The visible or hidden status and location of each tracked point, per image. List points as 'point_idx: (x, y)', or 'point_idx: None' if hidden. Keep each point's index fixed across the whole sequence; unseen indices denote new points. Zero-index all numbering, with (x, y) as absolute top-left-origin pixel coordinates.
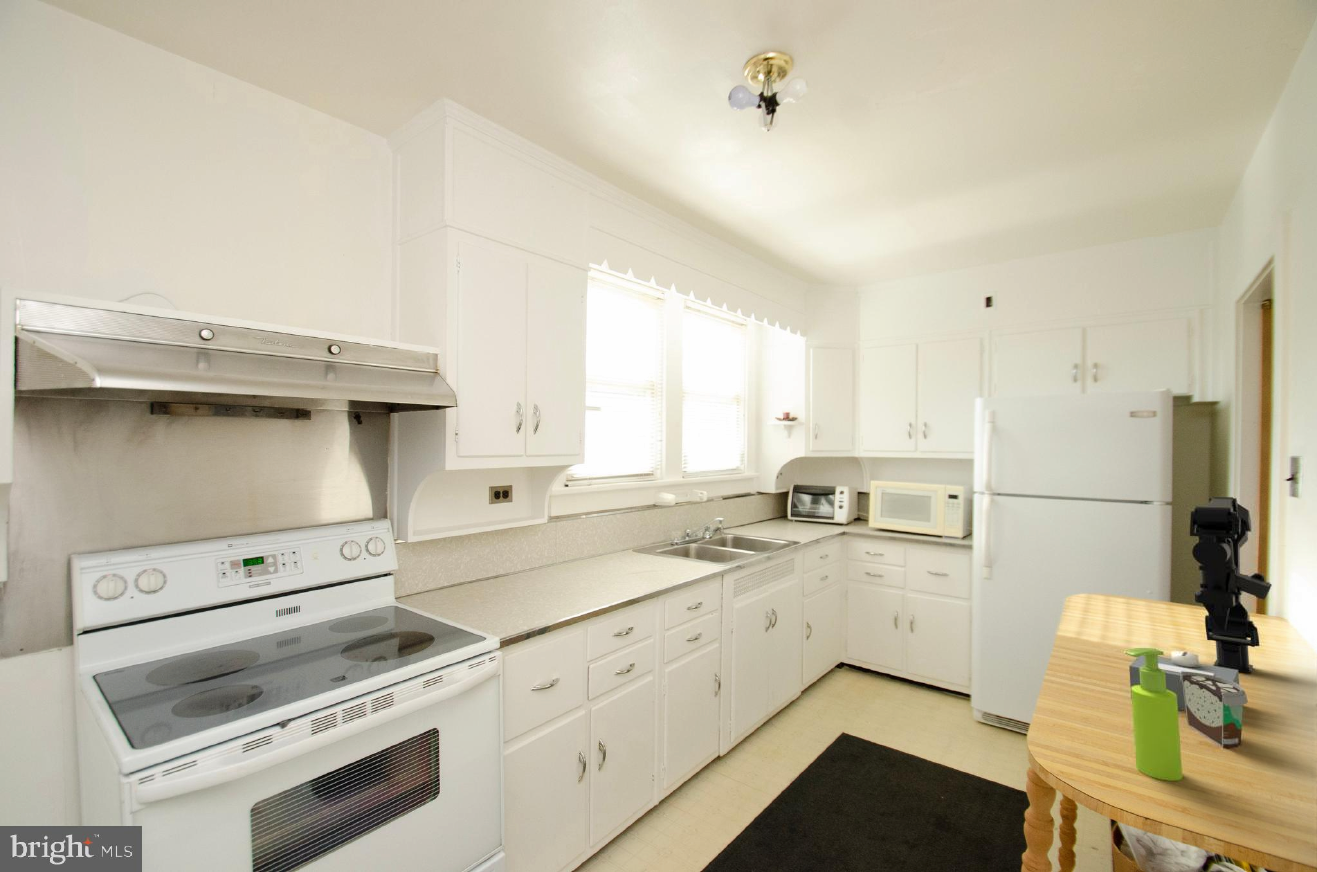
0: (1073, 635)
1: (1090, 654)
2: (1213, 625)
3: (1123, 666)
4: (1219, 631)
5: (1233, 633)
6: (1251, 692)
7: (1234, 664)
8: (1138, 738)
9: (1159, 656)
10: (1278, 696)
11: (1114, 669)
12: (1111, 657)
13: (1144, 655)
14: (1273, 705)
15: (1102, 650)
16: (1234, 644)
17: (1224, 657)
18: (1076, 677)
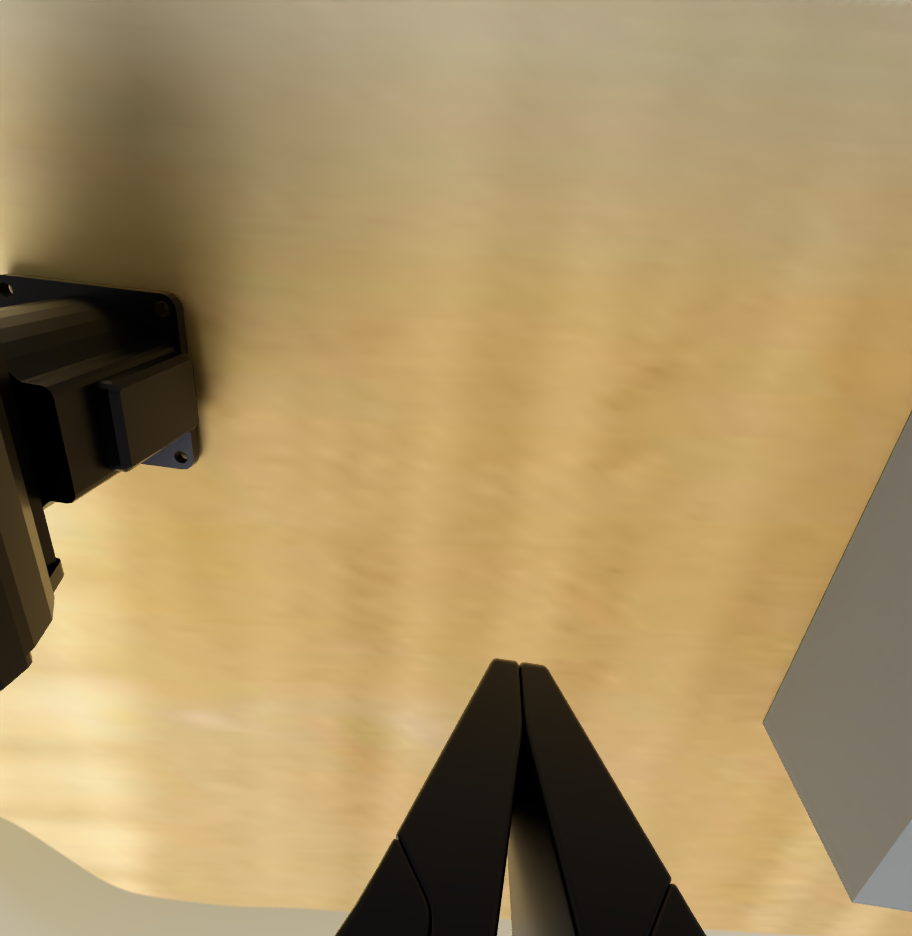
0: (120, 885)
1: (381, 851)
2: (12, 649)
3: None
4: (37, 572)
5: (9, 473)
6: (619, 307)
7: (176, 382)
8: None
9: (894, 841)
10: (621, 162)
11: None
12: (369, 799)
13: (905, 894)
14: (866, 202)
15: (276, 820)
16: (30, 418)
17: (161, 443)
18: (786, 891)
